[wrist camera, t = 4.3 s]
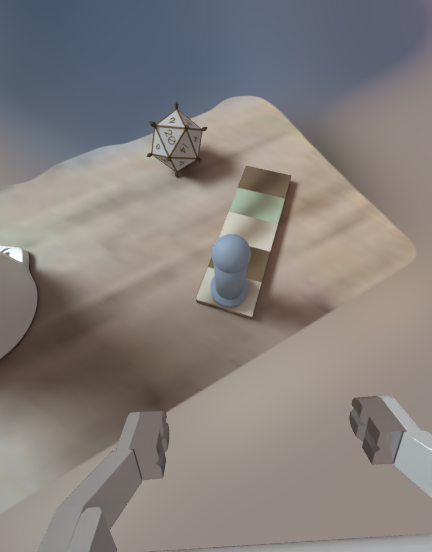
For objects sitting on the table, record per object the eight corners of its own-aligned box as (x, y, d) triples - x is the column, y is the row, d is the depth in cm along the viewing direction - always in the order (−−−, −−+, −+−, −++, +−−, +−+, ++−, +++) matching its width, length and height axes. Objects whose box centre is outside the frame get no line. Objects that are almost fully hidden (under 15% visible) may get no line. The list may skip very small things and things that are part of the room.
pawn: (206, 302, 30) (196, 259, 20) (217, 270, 32) (214, 215, 21) (241, 313, 29) (250, 275, 19) (251, 279, 31) (264, 228, 21)
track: (196, 302, 31) (195, 299, 30) (245, 171, 39) (246, 165, 38) (251, 319, 30) (252, 316, 29) (289, 181, 38) (291, 175, 37)
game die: (195, 182, 44) (221, 161, 35) (146, 183, 40) (161, 159, 31) (187, 129, 43) (212, 93, 34) (136, 124, 39) (149, 82, 30)
